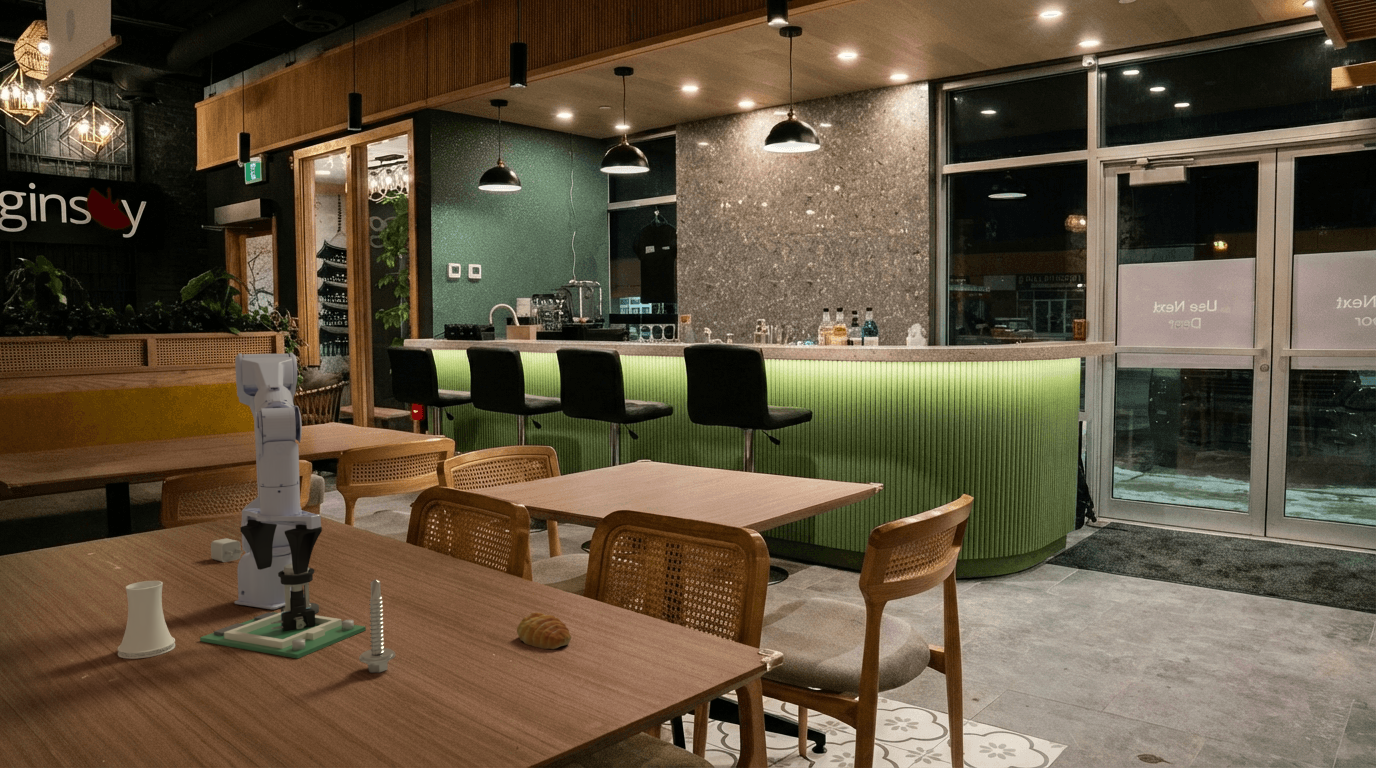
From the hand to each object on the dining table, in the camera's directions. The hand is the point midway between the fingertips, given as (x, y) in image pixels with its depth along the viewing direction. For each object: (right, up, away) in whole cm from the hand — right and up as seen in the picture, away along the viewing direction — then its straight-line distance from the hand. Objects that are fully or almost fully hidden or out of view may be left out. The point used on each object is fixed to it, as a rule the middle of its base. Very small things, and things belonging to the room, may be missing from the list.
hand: (282, 570), depth 147 cm
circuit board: (0, -10, +1) cm, 10 cm away
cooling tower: (-18, -11, -6) cm, 22 cm away
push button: (+1, -10, +2) cm, 10 cm away
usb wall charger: (-33, -8, +50) cm, 60 cm away
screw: (+20, -11, -14) cm, 27 cm away
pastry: (+41, -11, -2) cm, 43 cm away
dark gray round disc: (-2, -10, +13) cm, 16 cm away
